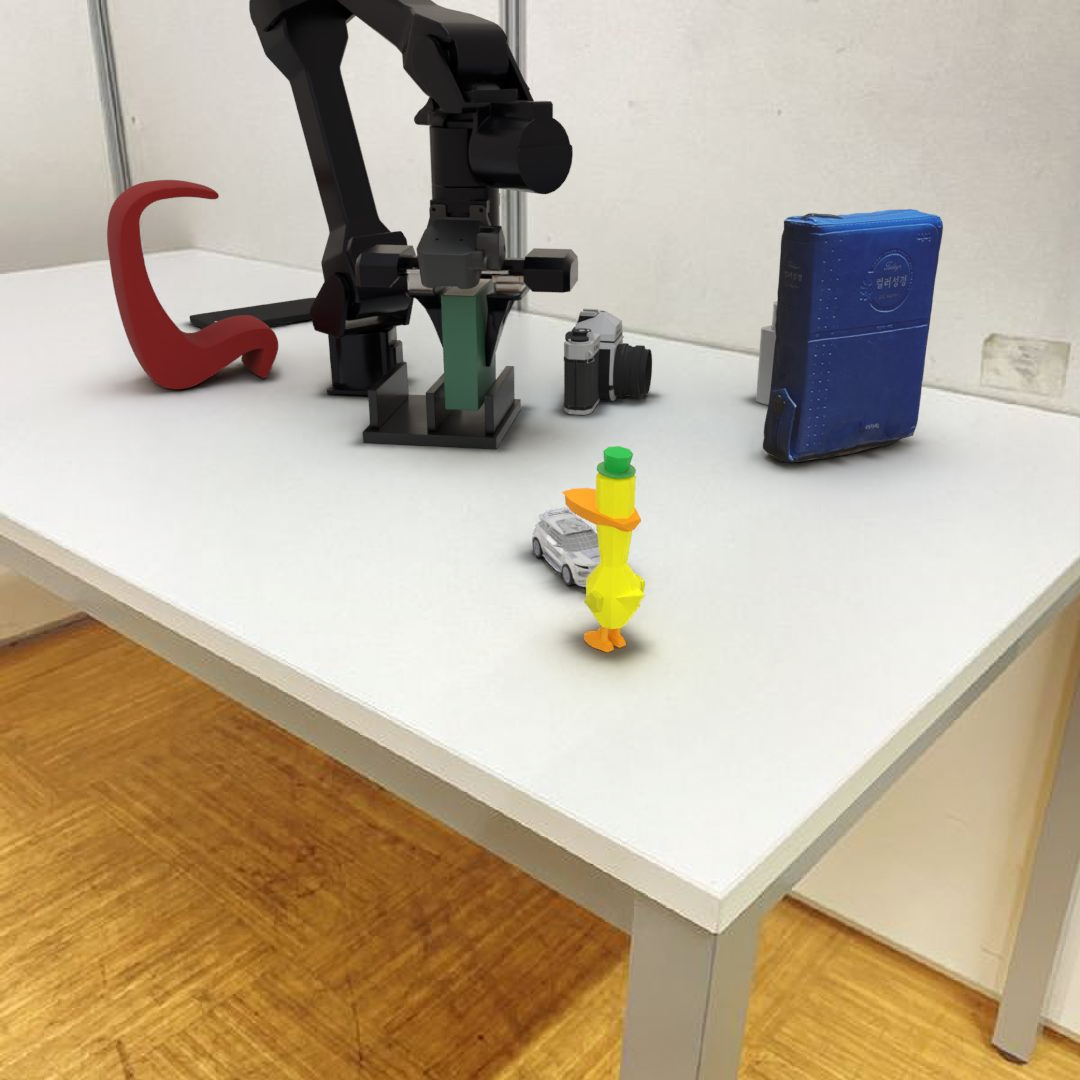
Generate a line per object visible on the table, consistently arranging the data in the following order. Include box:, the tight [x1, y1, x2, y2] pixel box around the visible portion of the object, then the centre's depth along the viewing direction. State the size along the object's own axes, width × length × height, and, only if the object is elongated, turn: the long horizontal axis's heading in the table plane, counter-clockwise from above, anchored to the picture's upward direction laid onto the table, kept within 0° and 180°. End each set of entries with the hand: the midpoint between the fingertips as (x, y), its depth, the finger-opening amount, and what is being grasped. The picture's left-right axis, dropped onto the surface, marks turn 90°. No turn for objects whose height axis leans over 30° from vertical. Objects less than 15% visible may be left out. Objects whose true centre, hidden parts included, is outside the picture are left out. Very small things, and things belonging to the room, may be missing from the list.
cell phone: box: [189, 297, 316, 329], centre depth 145 cm, size 9×18×1 cm, turn 129°
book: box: [762, 208, 944, 463], centre depth 93 cm, size 14×5×20 cm, turn 118°
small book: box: [441, 279, 497, 411], centre depth 101 cm, size 3×8×10 cm, turn 171°
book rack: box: [362, 361, 522, 450], centre depth 103 cm, size 12×12×4 cm
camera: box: [563, 308, 653, 416], centre depth 110 cm, size 13×8×9 cm, turn 169°
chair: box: [106, 179, 279, 390], centre depth 115 cm, size 15×7×20 cm, turn 118°
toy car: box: [531, 506, 600, 588], centre depth 75 cm, size 4×8×3 cm, turn 24°
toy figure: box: [561, 445, 646, 653], centre depth 64 cm, size 7×4×12 cm, turn 38°
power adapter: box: [755, 300, 777, 406], centre depth 109 cm, size 3×5×12 cm, turn 128°
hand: (470, 365), depth 101 cm, fingers closed on small book, 3 cm apart
